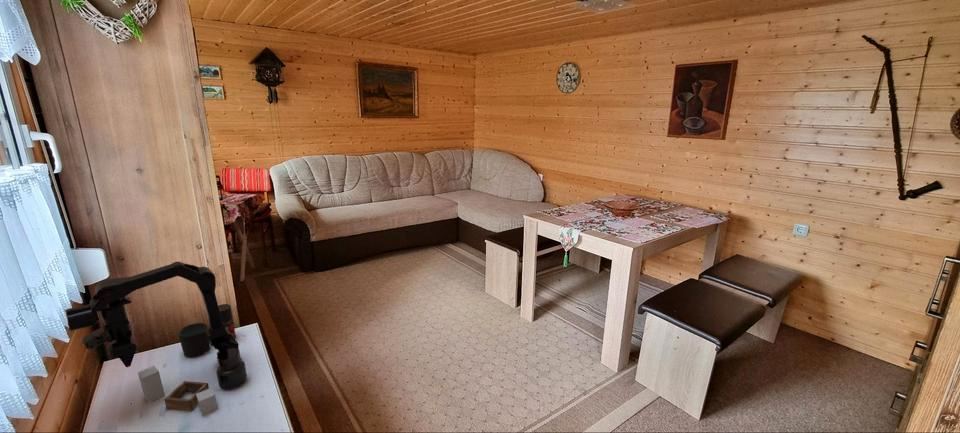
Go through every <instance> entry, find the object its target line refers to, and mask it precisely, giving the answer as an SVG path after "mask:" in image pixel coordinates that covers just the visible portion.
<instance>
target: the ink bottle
mask: <svg viewBox="0 0 960 433" xmlns="http://www.w3.org/2000/svg"><path fill="white" fill-rule="evenodd" d="M240 357H241V352H240V349H239V350H238V349H236V348H230V349H226V350H224V351H222V352H220V353H219V354H218V355H217V354H216V360H217V364H218V366H217V368H216V370H215V372H216V378H217V383H218V387H219V388H220V389H221V390H224V391H231V390H234V389H236V388H239V387H241V386H242V385H244V384H245V383H246V382H247V379H248V374H247V368H246V363H245V362H244V360H241V359H242V358H241V359H240Z"/></svg>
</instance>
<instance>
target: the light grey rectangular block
mask: <svg viewBox="0 0 960 433" xmlns="http://www.w3.org/2000/svg"><path fill="white" fill-rule="evenodd" d="M137 375H138V379H139V383H140V387H141V391H142V394H143V397H144V398H145V400H146V401H147V403H148V404H150V403H153V402H154V401H156V400H158V399H161V398H162V397H165V396H166V395H165V390H164V386H163V383H162V378H161V373H160V371H159V370H158V369H157V367H156V366H155V365H152V366H150V367H148V368H146V369H143V370H141V371H138V372H137Z"/></svg>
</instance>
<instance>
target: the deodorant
mask: <svg viewBox="0 0 960 433" xmlns="http://www.w3.org/2000/svg"><path fill="white" fill-rule="evenodd" d="M218 307H219V311H220V315H221V319H222V323H223V326H224V327H225V329H226V331H227V333H229V334H232V335H233V336H234V338H235V339H236V338H237V336H236V330H235V324H234V319H233V311H232V307H231V304H228V303H223V304H219V305H218ZM236 340H237V339H236Z"/></svg>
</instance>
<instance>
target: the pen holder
mask: <svg viewBox="0 0 960 433" xmlns="http://www.w3.org/2000/svg"><path fill="white" fill-rule="evenodd" d="M205 330H208V325H207V324H206V323H203V322H197V323H196V322H195V323H191V324H187V325H185V326H184V327H183V328H182V329H181V330H180V331H179V333H178V338H179V341H180V345H181V349H182V352H183V355H184V356H185V357H186V358H197V357H200V356H203V355H205V354H206V353H208V351H209V350H210V348H211V345H210V343H209V341H208V339H207V333H206V331H205Z"/></svg>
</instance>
